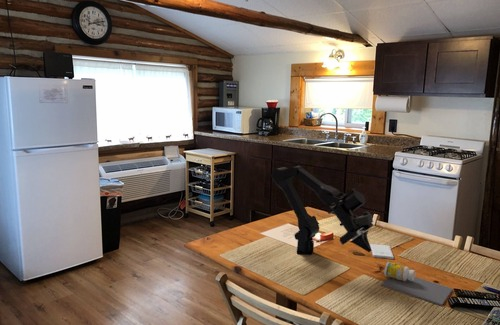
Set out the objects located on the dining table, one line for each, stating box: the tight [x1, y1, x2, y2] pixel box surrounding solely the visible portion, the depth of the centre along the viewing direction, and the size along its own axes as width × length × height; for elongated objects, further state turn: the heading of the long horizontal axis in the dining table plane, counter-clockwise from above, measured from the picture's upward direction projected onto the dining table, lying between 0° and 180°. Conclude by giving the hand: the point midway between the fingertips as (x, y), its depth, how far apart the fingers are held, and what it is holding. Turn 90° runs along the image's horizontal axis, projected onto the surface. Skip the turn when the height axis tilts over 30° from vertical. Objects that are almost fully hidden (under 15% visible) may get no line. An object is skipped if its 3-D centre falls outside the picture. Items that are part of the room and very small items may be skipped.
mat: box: [380, 276, 453, 307], centre depth 137 cm, size 20×14×1 cm
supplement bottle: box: [384, 261, 416, 282], centre depth 141 cm, size 5×5×10 cm
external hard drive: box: [370, 243, 395, 260], centre depth 167 cm, size 2×8×12 cm
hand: (370, 251), depth 147 cm, fingers closed
